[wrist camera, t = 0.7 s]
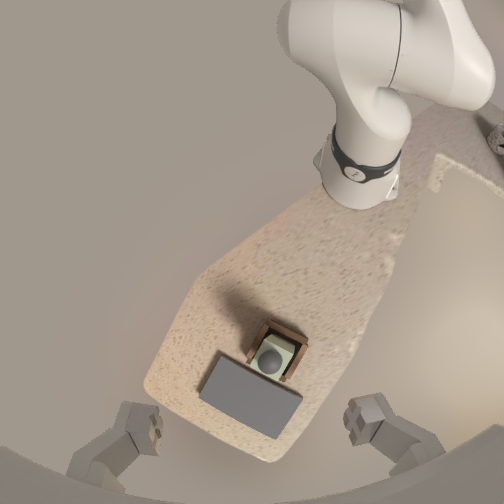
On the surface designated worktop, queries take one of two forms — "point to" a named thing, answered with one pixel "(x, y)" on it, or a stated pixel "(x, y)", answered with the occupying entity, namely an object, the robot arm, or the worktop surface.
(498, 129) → the mug
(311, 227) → the worktop surface
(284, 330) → the walnut pocket
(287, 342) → the spice grinder
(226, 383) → the slate board
